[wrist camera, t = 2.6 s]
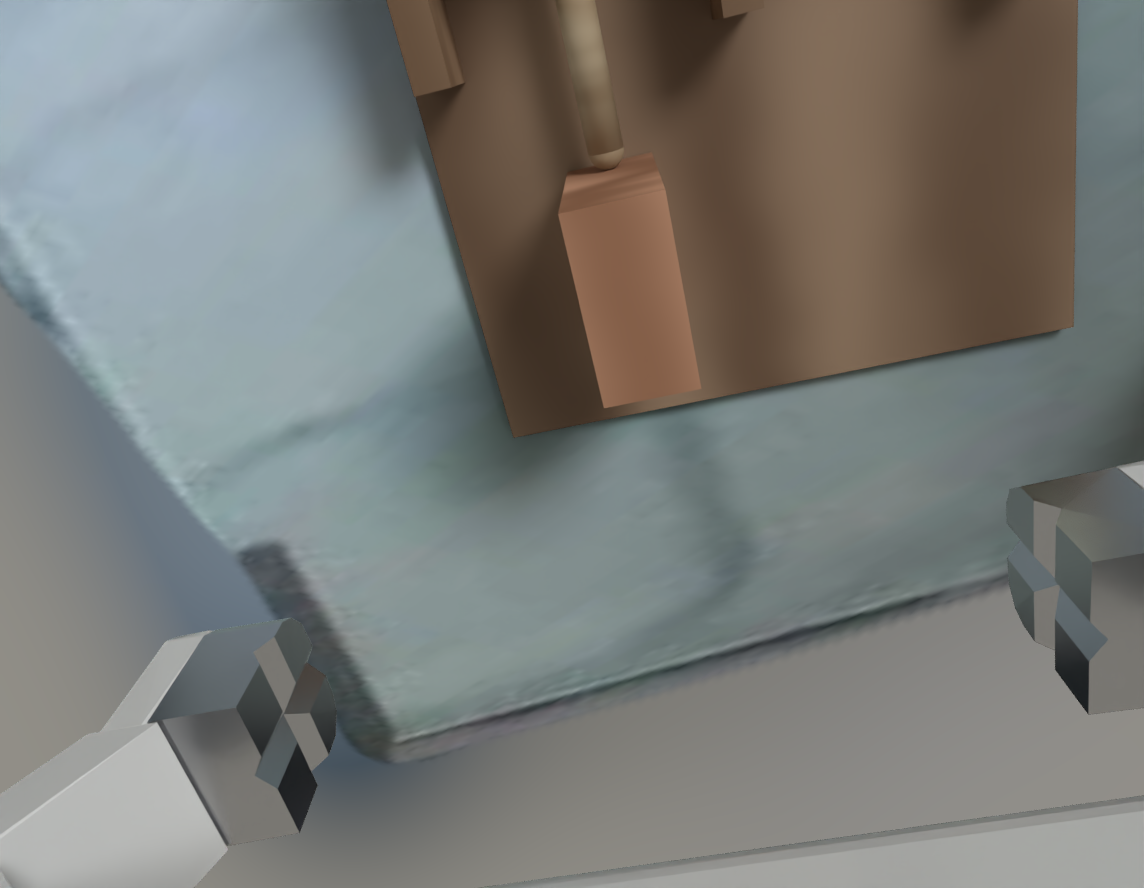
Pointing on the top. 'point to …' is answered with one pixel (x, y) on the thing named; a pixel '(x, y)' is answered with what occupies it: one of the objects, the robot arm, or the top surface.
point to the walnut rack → (763, 179)
